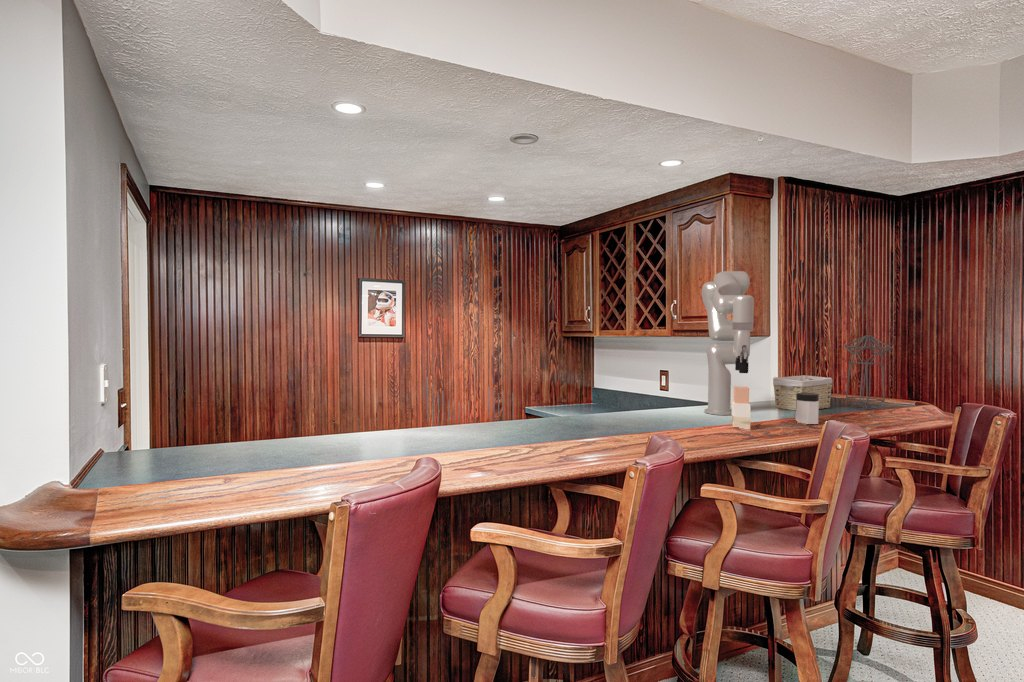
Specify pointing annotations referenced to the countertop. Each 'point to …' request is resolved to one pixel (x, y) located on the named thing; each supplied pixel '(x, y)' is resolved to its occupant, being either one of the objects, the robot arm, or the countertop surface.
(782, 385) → the storage basket
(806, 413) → the jar
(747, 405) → the middle block
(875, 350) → the geometric lantern
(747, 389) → the top block
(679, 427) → the countertop surface
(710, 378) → the robot arm
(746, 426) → the base block
